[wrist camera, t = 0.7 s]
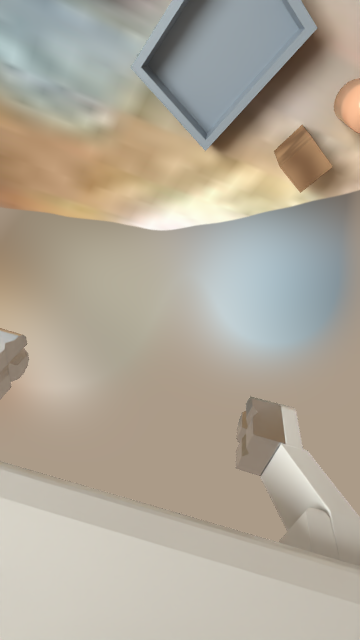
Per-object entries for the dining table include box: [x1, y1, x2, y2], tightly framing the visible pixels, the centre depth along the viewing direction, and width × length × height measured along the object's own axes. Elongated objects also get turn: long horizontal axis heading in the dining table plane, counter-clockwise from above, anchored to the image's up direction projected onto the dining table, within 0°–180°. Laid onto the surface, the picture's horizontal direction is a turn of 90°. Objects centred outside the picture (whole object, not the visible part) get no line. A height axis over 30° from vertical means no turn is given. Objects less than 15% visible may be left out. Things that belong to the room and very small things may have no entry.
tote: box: [131, 0, 317, 151], centre depth 40 cm, size 18×14×5 cm
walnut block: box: [274, 125, 333, 193], centre depth 46 cm, size 5×5×8 cm
